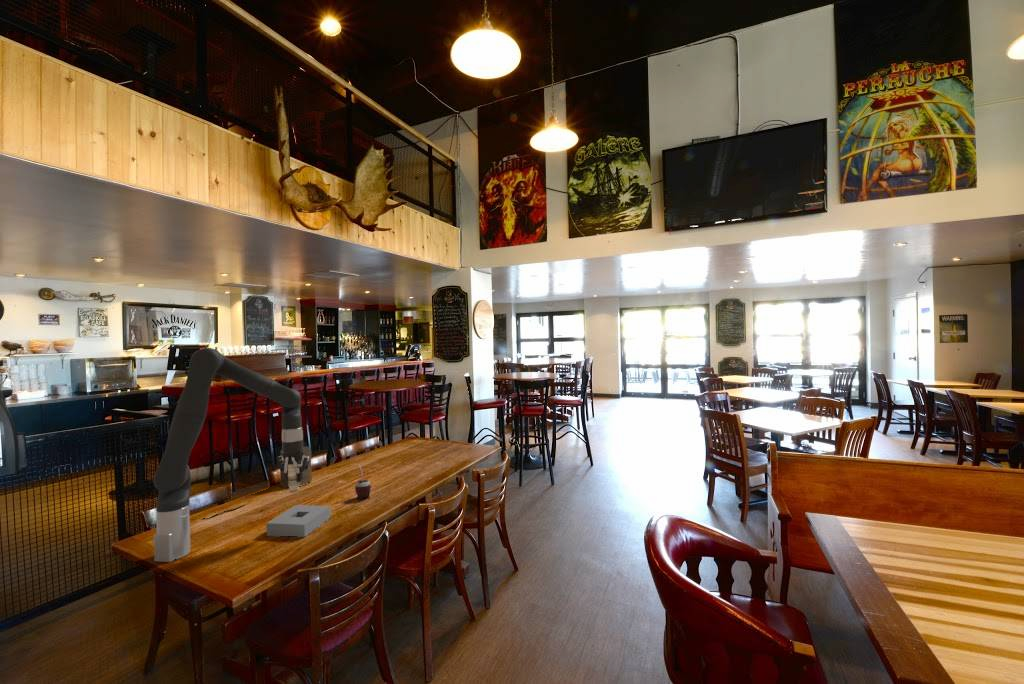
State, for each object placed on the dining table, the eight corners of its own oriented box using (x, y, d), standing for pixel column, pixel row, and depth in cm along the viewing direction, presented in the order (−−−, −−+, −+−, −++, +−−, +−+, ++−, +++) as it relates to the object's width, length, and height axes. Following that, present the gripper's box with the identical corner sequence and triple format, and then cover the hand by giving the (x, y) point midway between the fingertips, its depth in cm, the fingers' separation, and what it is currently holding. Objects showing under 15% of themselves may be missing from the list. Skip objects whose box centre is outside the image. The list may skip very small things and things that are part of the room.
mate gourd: (366, 501, 198) (365, 469, 198) (350, 500, 199) (350, 469, 199) (374, 495, 205) (373, 464, 205) (359, 494, 207) (358, 464, 207)
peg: (295, 492, 166) (294, 465, 165) (286, 492, 166) (285, 465, 166) (302, 489, 170) (301, 462, 170) (293, 488, 170) (292, 461, 170)
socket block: (304, 537, 162) (304, 524, 162) (266, 535, 164) (266, 523, 164) (330, 517, 180) (330, 506, 180) (295, 516, 182) (295, 505, 182)
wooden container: (296, 477, 234) (295, 438, 234) (317, 480, 230) (317, 440, 229) (273, 486, 220) (273, 444, 220) (296, 489, 215) (295, 446, 215)
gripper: (269, 441, 165) (271, 484, 165) (302, 441, 163) (304, 485, 163) (282, 436, 172) (284, 478, 173) (314, 436, 170) (316, 478, 171)
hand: (294, 481), depth 168 cm, fingers closed on peg, 4 cm apart
